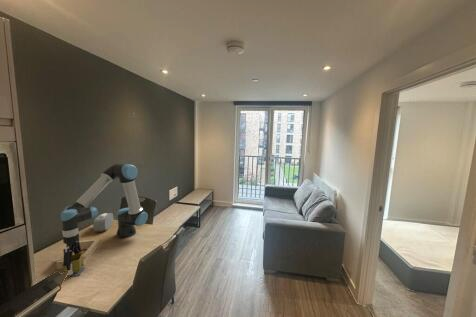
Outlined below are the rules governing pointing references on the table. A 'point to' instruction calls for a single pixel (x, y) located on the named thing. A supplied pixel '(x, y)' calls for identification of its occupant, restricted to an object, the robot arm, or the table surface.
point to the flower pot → (75, 262)
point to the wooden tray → (85, 244)
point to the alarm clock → (103, 222)
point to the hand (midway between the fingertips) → (73, 269)
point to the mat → (77, 272)
